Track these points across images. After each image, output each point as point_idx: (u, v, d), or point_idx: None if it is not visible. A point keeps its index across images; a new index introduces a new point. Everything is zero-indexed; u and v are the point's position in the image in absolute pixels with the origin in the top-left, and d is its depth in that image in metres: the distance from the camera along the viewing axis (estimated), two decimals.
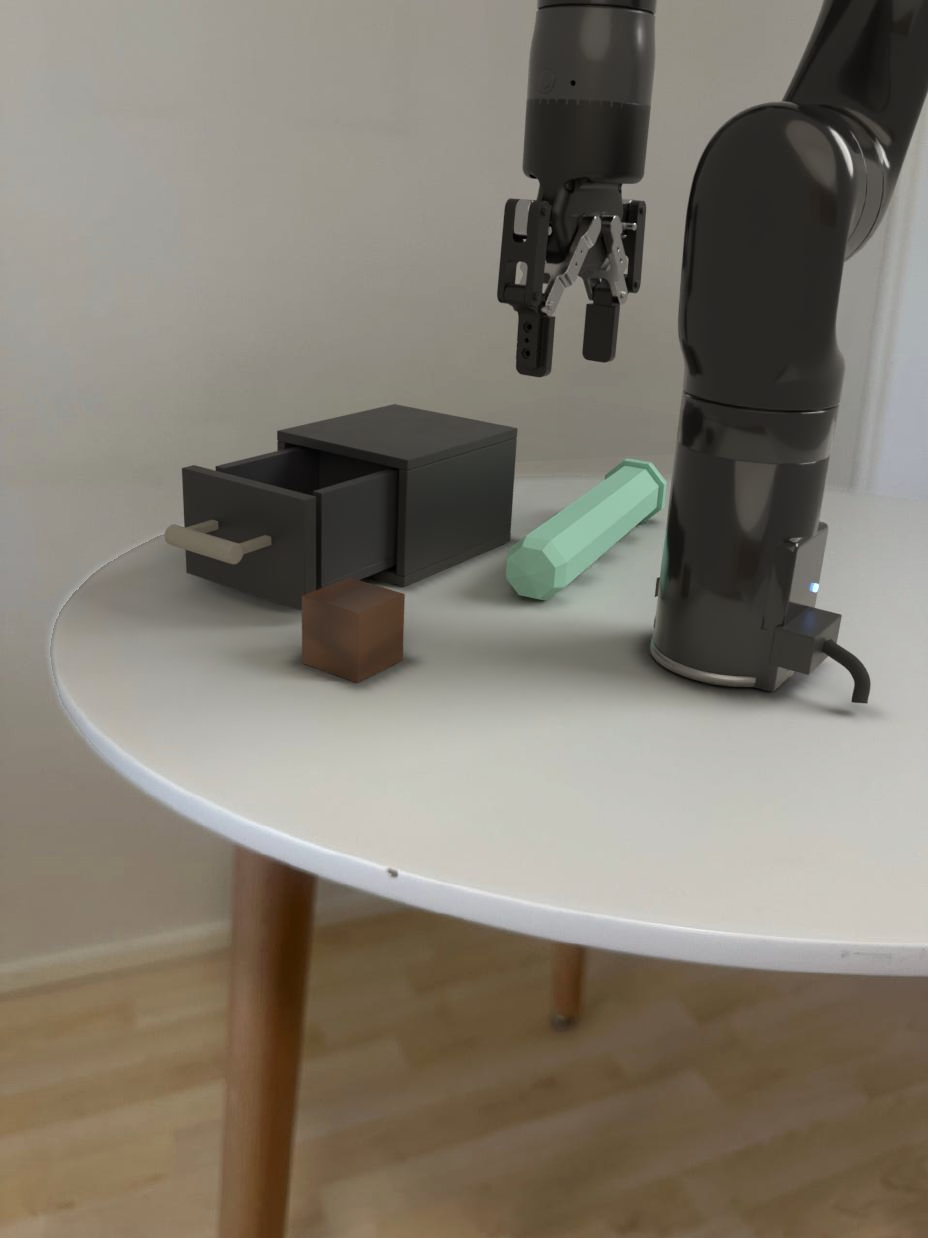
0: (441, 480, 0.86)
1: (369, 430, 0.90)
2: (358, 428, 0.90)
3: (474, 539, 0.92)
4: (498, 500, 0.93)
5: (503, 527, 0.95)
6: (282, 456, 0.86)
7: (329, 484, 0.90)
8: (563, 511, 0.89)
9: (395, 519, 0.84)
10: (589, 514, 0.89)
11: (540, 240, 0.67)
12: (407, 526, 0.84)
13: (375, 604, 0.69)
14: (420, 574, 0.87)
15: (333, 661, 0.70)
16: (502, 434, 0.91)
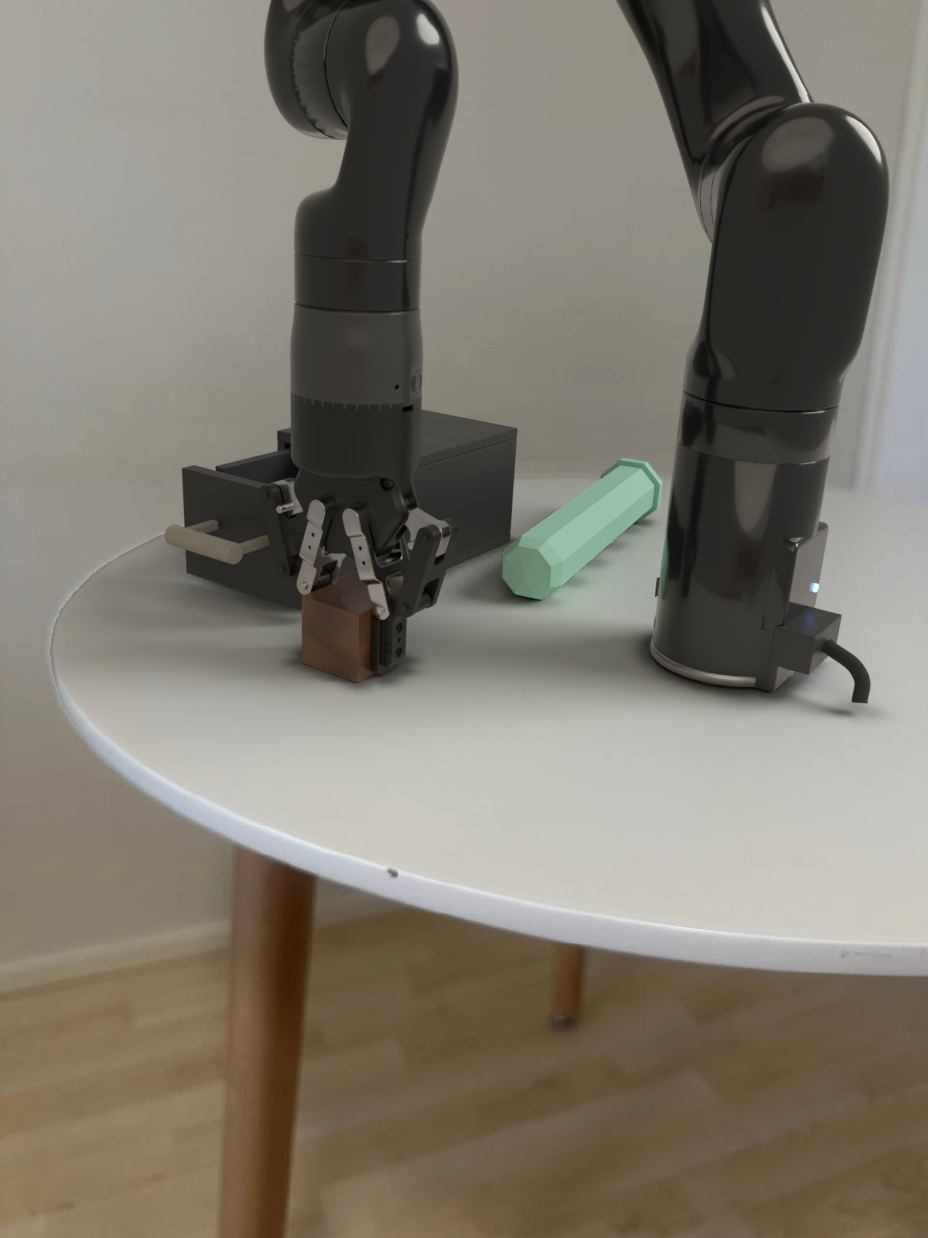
0: (441, 480, 0.86)
1: None
2: None
3: (474, 539, 0.92)
4: (498, 500, 0.93)
5: (503, 527, 0.95)
6: (282, 456, 0.86)
7: None
8: (559, 510, 0.89)
9: None
10: (585, 514, 0.89)
11: (269, 520, 0.71)
12: None
13: None
14: None
15: (333, 661, 0.70)
16: (502, 434, 0.91)
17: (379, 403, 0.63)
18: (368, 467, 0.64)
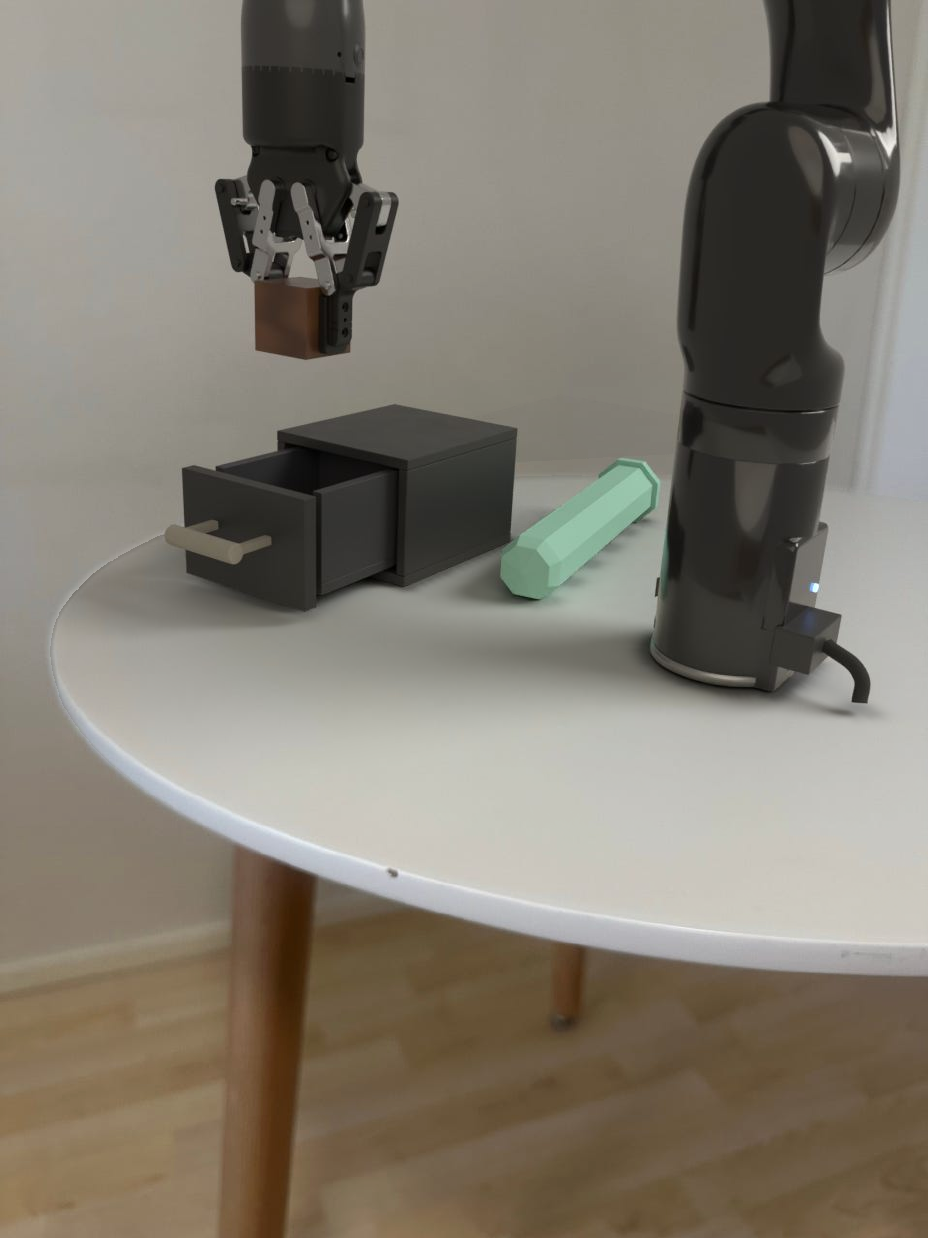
0: (441, 480, 0.86)
1: (369, 430, 0.90)
2: (358, 428, 0.90)
3: (474, 539, 0.92)
4: (498, 500, 0.93)
5: (503, 527, 0.95)
6: (282, 456, 0.86)
7: (329, 484, 0.90)
8: (557, 510, 0.89)
9: (395, 519, 0.84)
10: (583, 513, 0.89)
11: (224, 214, 0.76)
12: (407, 526, 0.84)
13: None
14: (420, 574, 0.87)
15: (283, 342, 0.75)
16: (502, 434, 0.91)
17: (322, 68, 0.68)
18: (313, 133, 0.69)
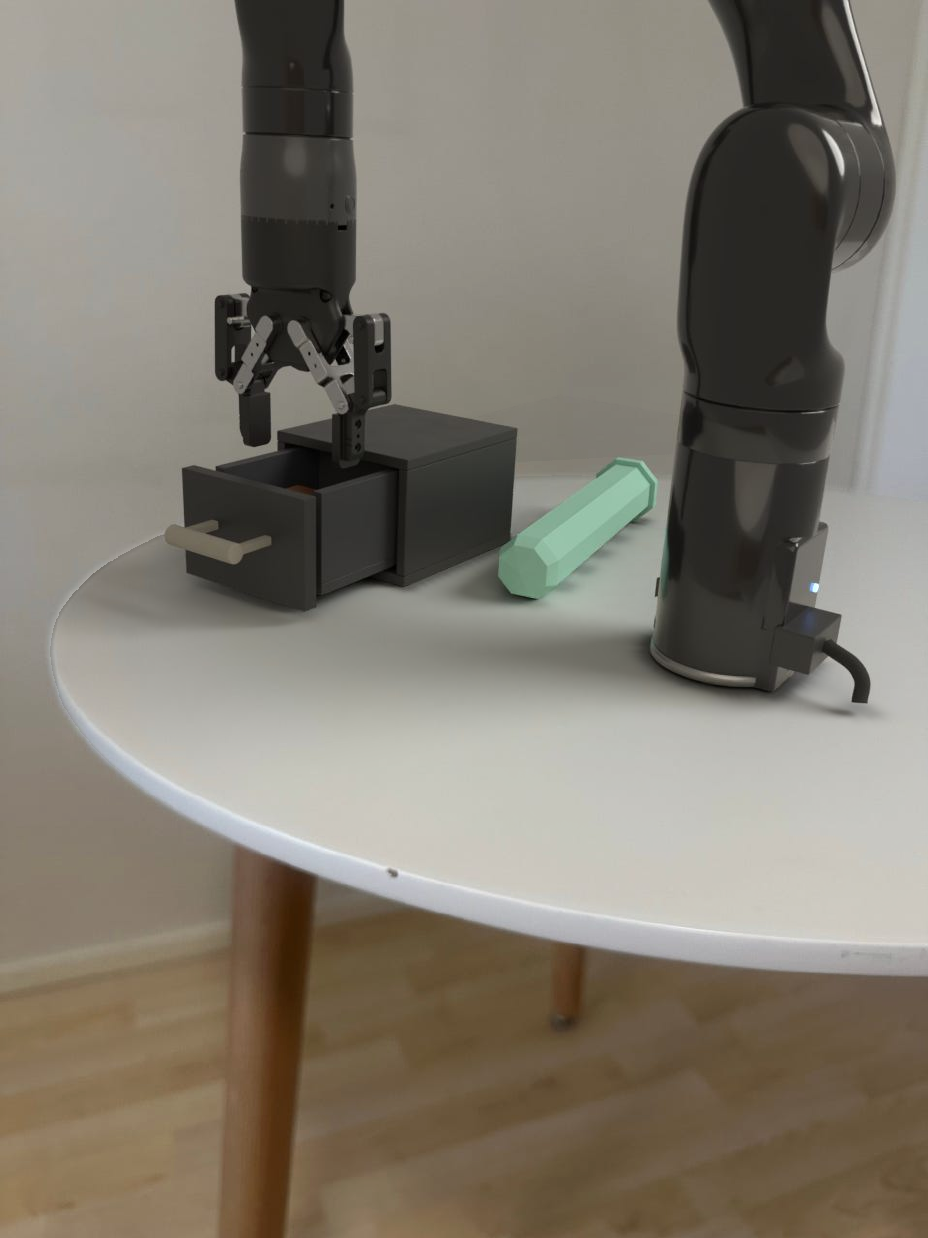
0: (441, 480, 0.86)
1: (369, 430, 0.90)
2: None
3: (474, 539, 0.92)
4: (498, 500, 0.93)
5: (503, 527, 0.95)
6: (282, 456, 0.86)
7: (329, 484, 0.90)
8: (555, 510, 0.89)
9: (395, 519, 0.84)
10: (581, 513, 0.89)
11: (218, 327, 0.81)
12: (407, 526, 0.84)
13: None
14: (420, 574, 0.87)
15: None
16: (502, 434, 0.91)
17: (316, 220, 0.72)
18: (308, 278, 0.73)
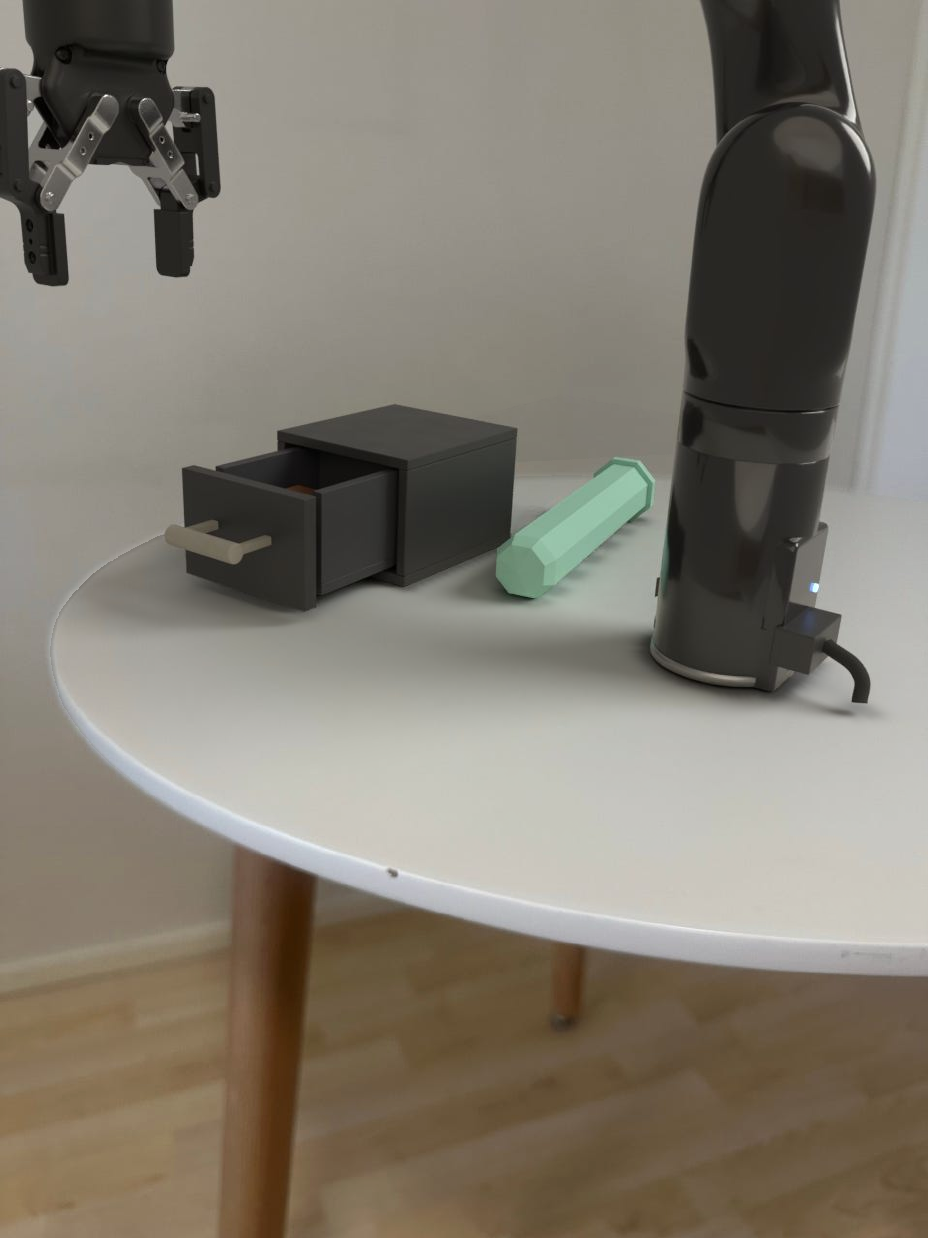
0: (441, 480, 0.86)
1: (369, 430, 0.90)
2: (358, 428, 0.90)
3: (474, 539, 0.92)
4: (498, 500, 0.93)
5: (503, 527, 0.95)
6: (282, 456, 0.86)
7: (329, 484, 0.90)
8: (552, 509, 0.89)
9: (395, 519, 0.84)
10: (578, 513, 0.89)
11: None
12: (407, 526, 0.84)
13: None
14: (420, 574, 0.87)
15: None
16: (502, 434, 0.91)
17: None
18: None
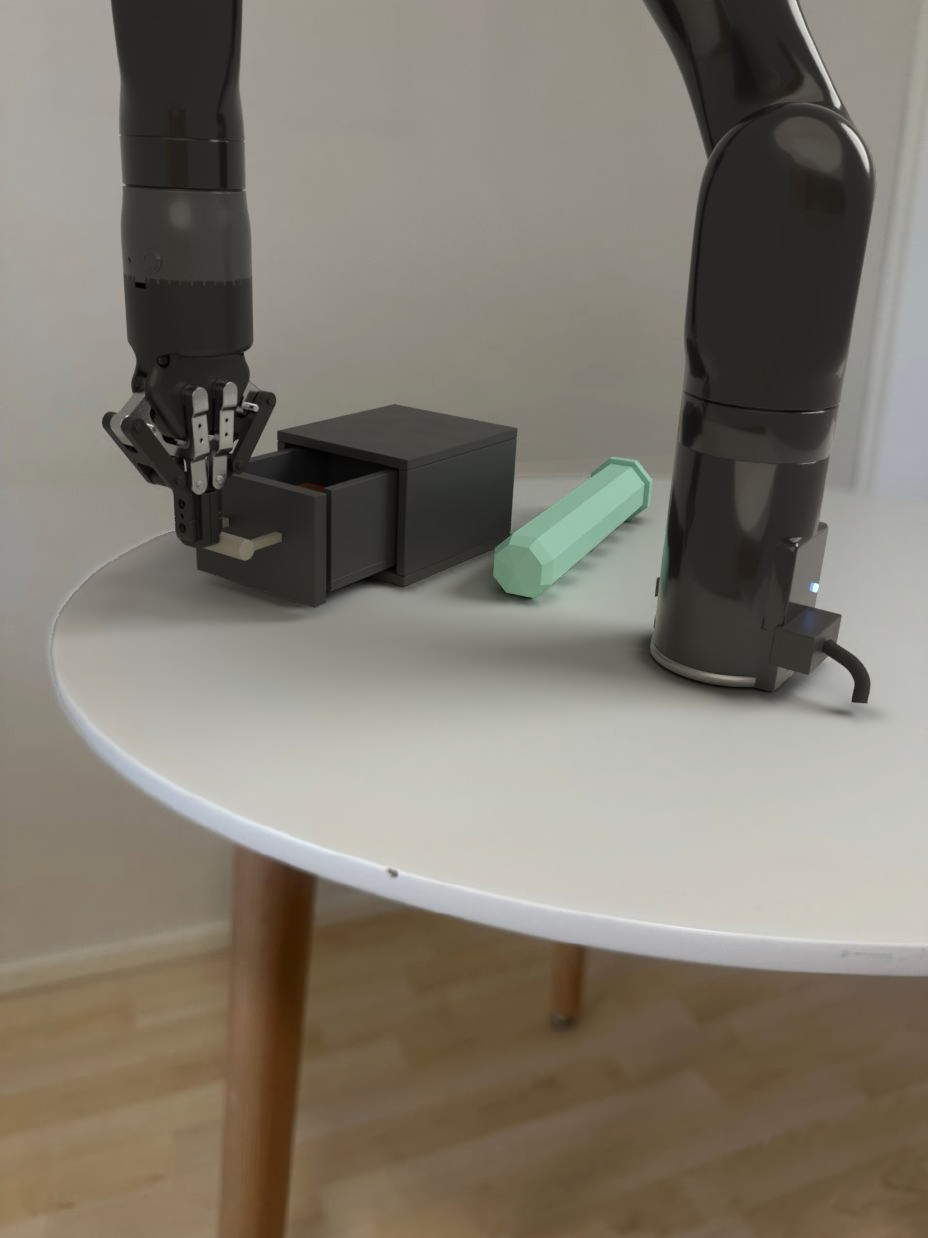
0: (441, 480, 0.86)
1: (369, 430, 0.90)
2: (358, 428, 0.90)
3: (474, 539, 0.92)
4: (498, 500, 0.93)
5: (503, 527, 0.95)
6: (291, 454, 0.87)
7: (338, 481, 0.91)
8: (550, 509, 0.89)
9: None
10: (576, 512, 0.89)
11: None
12: (407, 526, 0.84)
13: None
14: (420, 574, 0.87)
15: None
16: (502, 434, 0.91)
17: (125, 273, 0.67)
18: None
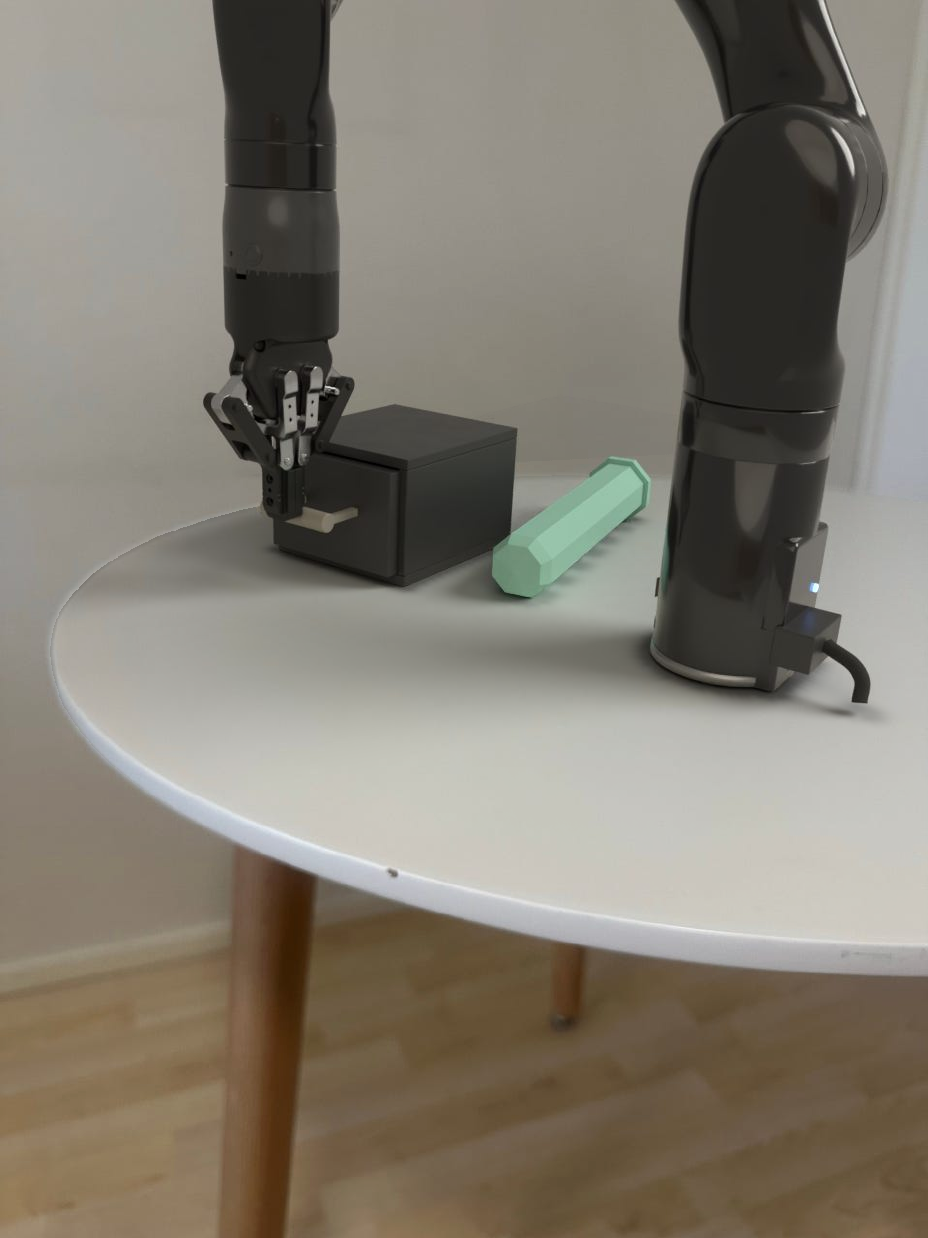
0: (441, 480, 0.86)
1: (369, 430, 0.90)
2: (358, 428, 0.90)
3: (474, 539, 0.92)
4: (498, 500, 0.93)
5: (503, 527, 0.95)
6: None
7: None
8: (548, 509, 0.89)
9: None
10: (574, 512, 0.89)
11: None
12: (407, 526, 0.84)
13: None
14: (420, 574, 0.87)
15: None
16: (502, 434, 0.91)
17: (225, 265, 0.74)
18: None
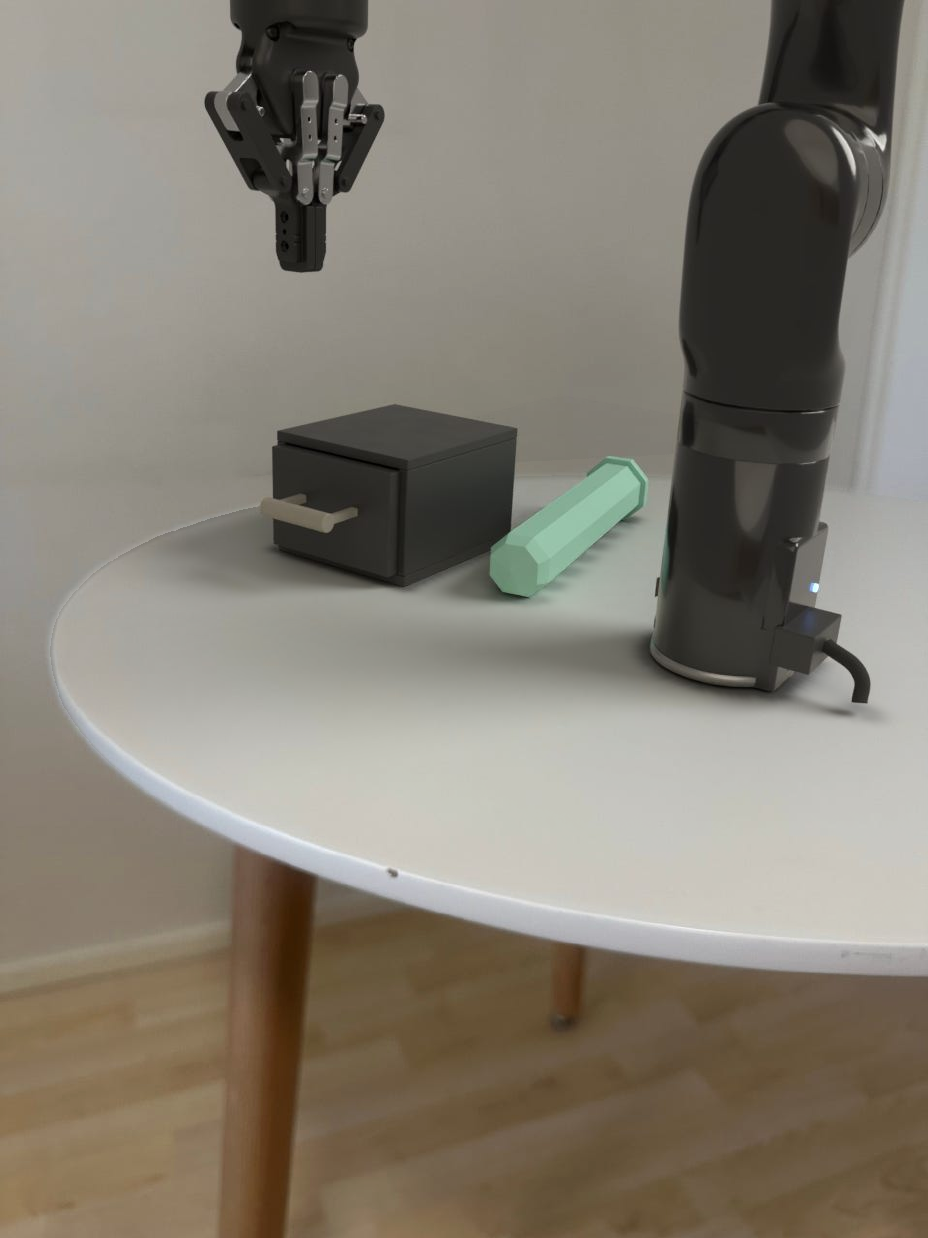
0: (441, 480, 0.86)
1: (369, 430, 0.90)
2: (358, 428, 0.90)
3: (474, 539, 0.92)
4: (498, 500, 0.93)
5: (503, 527, 0.95)
6: None
7: None
8: (546, 508, 0.89)
9: None
10: (572, 511, 0.89)
11: None
12: (407, 526, 0.84)
13: None
14: (420, 574, 0.87)
15: None
16: (502, 434, 0.91)
17: None
18: (230, 10, 0.62)
